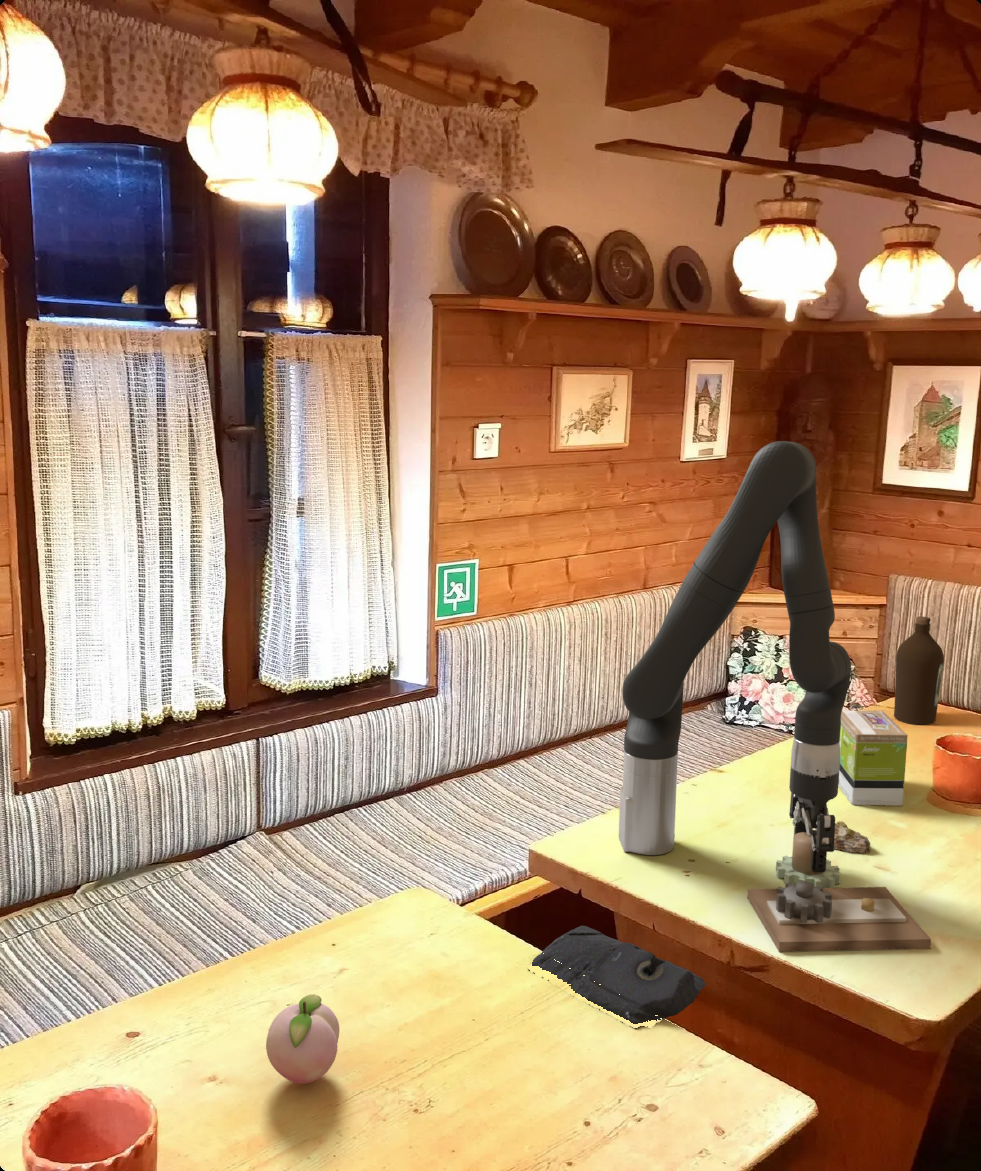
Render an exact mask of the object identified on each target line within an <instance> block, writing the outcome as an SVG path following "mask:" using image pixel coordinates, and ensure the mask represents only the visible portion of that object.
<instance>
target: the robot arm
mask: <svg viewBox="0 0 981 1171" xmlns="http://www.w3.org/2000/svg"><path fill="white" fill-rule="evenodd" d="M816 463H817V462H816V459H815V457H814V455H813V454H812V452H811V450H809V449H808V448H807V447H806V446H805V445H802V444H801V443H798V442H794V441H787V440H786V441H785V440H782V441H781V440H777V441H773V442H770V443H768V444H766V445H764V446H763V447H762V448H760V449H759V450H758V451H756V454H755V455H754V457H753V458H752V460H751V461H750V464H749V466H748V468H747V470H746V473H745V474H744V477H743V480H742V482H741V484H740V487H739V488H738V491H737V493H736V495H735V497H734V498H733V501H732V503H731V505H730V507H729V509H728V510H727V512H726V514H725V516H724V517H723V518H722V519H721V521H720V523H719V524H718V526H717V527H716V528H715V530H714V531H713V532H712V534H711V536H710V537H709V539H708V541H707V542H706V543H705V545H704V546H703V548H702V549H701V551H700V553H699V554H698V556H697V557H696V558H695V560H694V562H693V564H692V565H691V567H690V568H689V571H688V572H687V573H686V576H685V577H684V579H683V581H682V582H681V584H680V587H679V589H678V590H677V593H676V594H675V596H674V598H673V600H672V602H671V605H670V606H669V609H668V610H667V613H666V615H665V617H664V619H663V622H662V623H661V624H662V625H660V626H661V627H660V628H659V630H658V632H657V634H656V635H655V637H654V640H652V642H651V644H650V646H649V647H648V648H647V649H646V651H645V652H644V653H643V655H642V656H641V658H640V659H639V661H638V662H637V663H636V664H635V665H634V666H633V667H632V668H631V670H630V671H629V672H628V674H627V675H626V676H625V678H624V681H623V684H622V689H621V690H622V691H621V693H622V694H621V695H622V702H623V705H624V706H625V708H626V710H628V719H627V723H626V724H627V725H626V728H625V729H626V730H625V733H624V736H623V738H624V739H623V766H622V767H623V768H622V770H623V772H622V786H621V787H620V788H619V812H618V813H619V815H618V818H619V819H618V839H619V842H620V844H621V847H622V849H623V851H624V852H625V853H626V852H629V853H635V854H638V855H642V856H643V855H646V856H659V855H664V854H666V853H670V852H671V851H672V850H673V849H674V846H675V838H676V833H675V832H676V830H675V829H676V810H677V808H676V805H677V783H678V782H677V781H678V780H677V779H678V761H679V760H678V757H679V742H680V736H681V732H682V718H683V716H682V715H683V706H684V705H683V704H684V681H685V679H686V677H687V674H688V673H689V671H690V668H691V667H692V664H693V663H694V662H695V660H696V659H697V657H698V655H700V653H701V651H702V650H703V649H704V648H705V646H706V645H707V644H708V643H709V642H710V640H712V638H713V637H715V635H716V633H717V632H718V631H719V629H720V628H721V626H722V625H723V624H724V623H725V621H726V620H727V619H728V617H729V616H730V614H731V613H732V611H733V609H735V607H736V606H737V604H738V602H739V600H740V599H741V597H742V596H743V594H744V592H745V591H746V589H747V588H748V585H749V583H750V581H751V579H752V577H753V575H754V573H755V570H756V568H757V564H758V563H759V559H760V556H761V554H762V550H763V548H764V545H765V542H766V541H767V538H768V536H769V534H770V532H771V531H772V529H773V528H774V526H775V525H776V523H777V525H778V531H779V539H780V554H781V555H780V559H781V562H780V563H781V564H780V565H781V579H782V588H783V594H784V599H785V603H786V610H787V611H786V612H787V616H788V619H789V633H788V634H789V635H788V641H789V642H788V643H789V644H788V646H789V647H788V654H789V655H788V657H789V659H788V660H789V667H790V672H791V675H792V676H793V677H792V678H793V679H794V681H795V682H796V684H797V685H798V686H799V688H801V689H802V690H804V691H805V694H804V697H803V699H802V700H801V701H800V703H799V704H798V706H797V707H796V711H795V716H794V717H795V718H794V734H793V741H792V747H791V755H790V772H789V774H790V775H789V791H790V804H789V812H788V813H789V814H788V815H789V818H790V819H792V825H793V828H794V829H793V836H794V835H795V834H797V833H801V832H807V835H808V836H809V837H810V838H811V844H812V855H811V870H812V871H813V872H814V873H818V872H825V870H826V859H827V855H828V854H827V853H828V852H829V853H834V852H835V849H834V837H835V823H836V817H835V815H834V814H830V813H829V812H830V811H829V809H828V805H827V803H828V802H829V801H831V800H833V799H835V798H837V797H838V793H839V785H838V783H839V769H840V730H841V713H842V711H843V710H844V709H843V708H844V706H845V703H846V698H847V695H848V692H849V691H848V690H849V687H850V682H851V677H852V663H851V662H852V661H851V658H850V655H849V653H848V651H847V650H846V648H845V647H844V646H842V645H841V644H840V643H838V642H835V641H830V640H831V639H830V629H831V627H832V625H833V624H834V622H835V619H836V613H835V606H834V601H833V596H832V590H831V586H830V585H831V584H830V581H829V576H828V571H827V566H826V560H825V557H824V556H825V555H824V550H823V547H822V541H821V540H822V539H821V535H820V526H819V516H818V505H817V504H818V503H817V502H818V500H817V499H818V498H817V464H816ZM815 829H817V830H815ZM816 836H817V838H816ZM828 838H829V840H828ZM822 839H823V843H822Z"/></svg>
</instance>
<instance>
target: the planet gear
mask: <svg viewBox="0 0 981 1171" xmlns="http://www.w3.org/2000/svg"><path fill="white" fill-rule="evenodd" d="M816 838H817V836H816ZM822 843H823V839H822ZM811 855H812V844H811V838H810V837H809V836H808V835H807V832H801V833H797V834H795V835H794V834H793V840H792V854H791V856H789V855H786V854H785V855H784V856H782V859H781V860H779V859H777V860H776V865H775V871H776V872H775V873H776V877H777V879H783V883H784V884H786V883H790V882H791V883H792V884H794V885H797V883H798V882H801V881H804V882H809V883H811V884H812V885H813V888H814V887H816V886H820V887H822V888H835V885H840V882H841V872H840V867H839V866H838V865H832V860H829V859H828V858H826V870H825V872H818V873H814V872H813V871H812V870H811Z"/></svg>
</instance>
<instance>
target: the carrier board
mask: <svg viewBox="0 0 981 1171" xmlns="http://www.w3.org/2000/svg"><path fill="white" fill-rule="evenodd" d="M784 884H785V883H784ZM784 886H785V887H783V886H778V887H777V888H749V889H748V888H747V897H746V898H747V900H748V902H749V903H750V905H751V907H752V908H753V910H754V912H755V913H756V915H757V917H758V919H759V921H760V922H761V924H762V926H763V927H764V929H765V930H766V932H767V934H768V936H769V937H770V939H771V941H772V942H773V944H774V946H775V947H776V949H777V951H778V953H781V952H784V953H785V952H786V953H787V952H826V951H827V952H829V951H831V952H832V951H833V952H834V951H836V952H837V951H840V952H841V951H883V950H884V951H885V950H888V951H889V950H890V951H891V950H931V943H932V938H931V937H930V936H929V935H928V934H927V933H926V931H925V930H924V929H923V928H922V927H921V925H920V924H918V923H917V921H916V920H915V919H914V918H913V916H911V914H909V912H908V911H907V909H905V908H904V906H903V905H902V904H901V903H900V902H899V900H898V899H897V898H896V897H895V896H894V895H893V894H892V893H891V892H890V890H889V889H888V888H887V886H869V887H868V886H866V887H865V886H864V887H863V886H862V887H834V888H822V887H820V886H816V887H814V888H813V885H812V884H811V883H809V882H804V881H801V882H798V883H797V885H795V884H792V883H791V882H790V883H786V884H785V885H784Z"/></svg>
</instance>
